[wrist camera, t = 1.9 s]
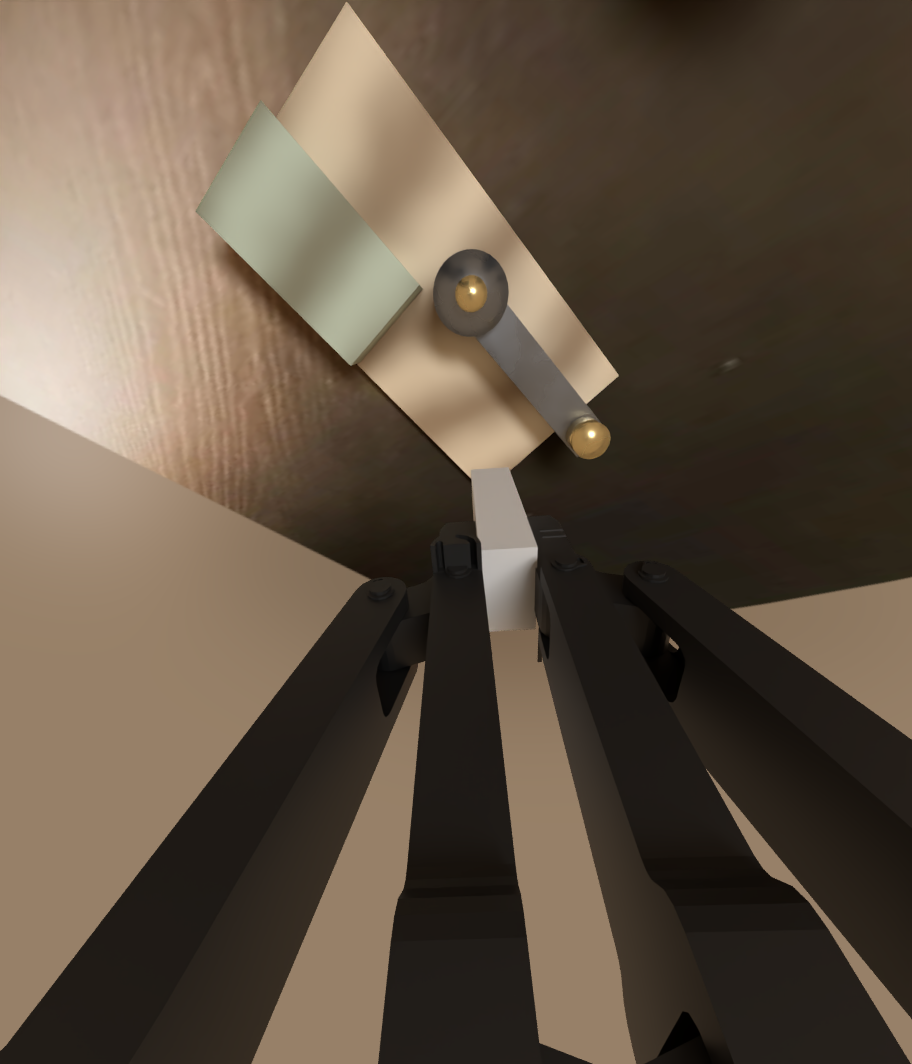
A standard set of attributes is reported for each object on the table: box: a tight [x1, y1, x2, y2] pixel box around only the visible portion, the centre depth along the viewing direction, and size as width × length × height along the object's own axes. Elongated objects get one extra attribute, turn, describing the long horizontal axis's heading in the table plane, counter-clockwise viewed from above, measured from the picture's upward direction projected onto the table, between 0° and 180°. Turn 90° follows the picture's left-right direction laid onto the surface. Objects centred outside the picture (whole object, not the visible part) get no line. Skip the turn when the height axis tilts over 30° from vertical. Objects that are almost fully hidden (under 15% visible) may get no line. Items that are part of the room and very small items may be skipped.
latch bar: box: [433, 249, 610, 459], centre depth 26 cm, size 15×4×5 cm, turn 44°
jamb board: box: [196, 2, 619, 478], centre depth 26 cm, size 25×13×4 cm, turn 44°
